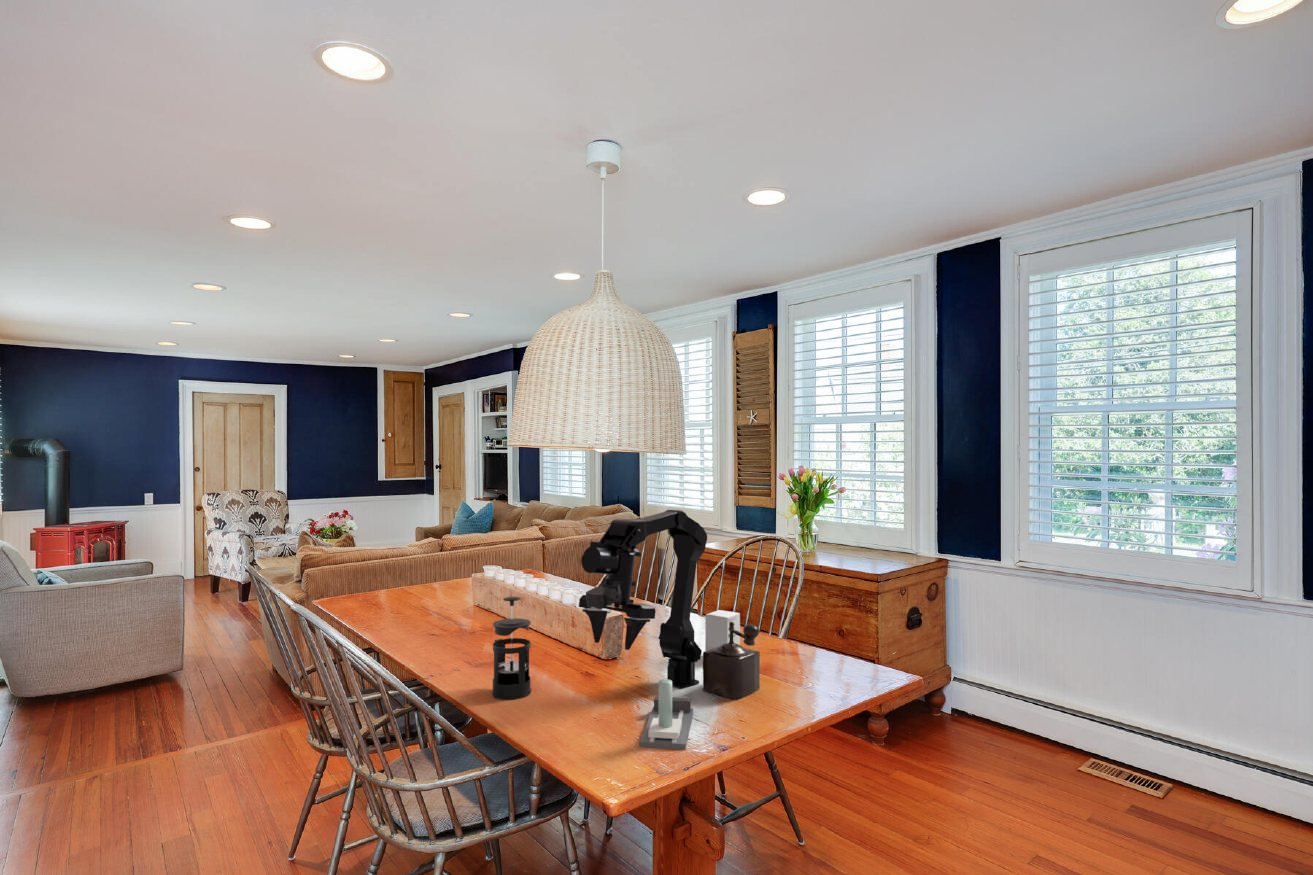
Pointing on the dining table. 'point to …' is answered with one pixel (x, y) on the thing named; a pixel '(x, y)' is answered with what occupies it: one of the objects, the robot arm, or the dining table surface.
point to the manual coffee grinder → (733, 666)
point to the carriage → (665, 715)
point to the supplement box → (720, 628)
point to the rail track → (679, 711)
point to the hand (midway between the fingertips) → (611, 646)
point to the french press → (511, 674)
